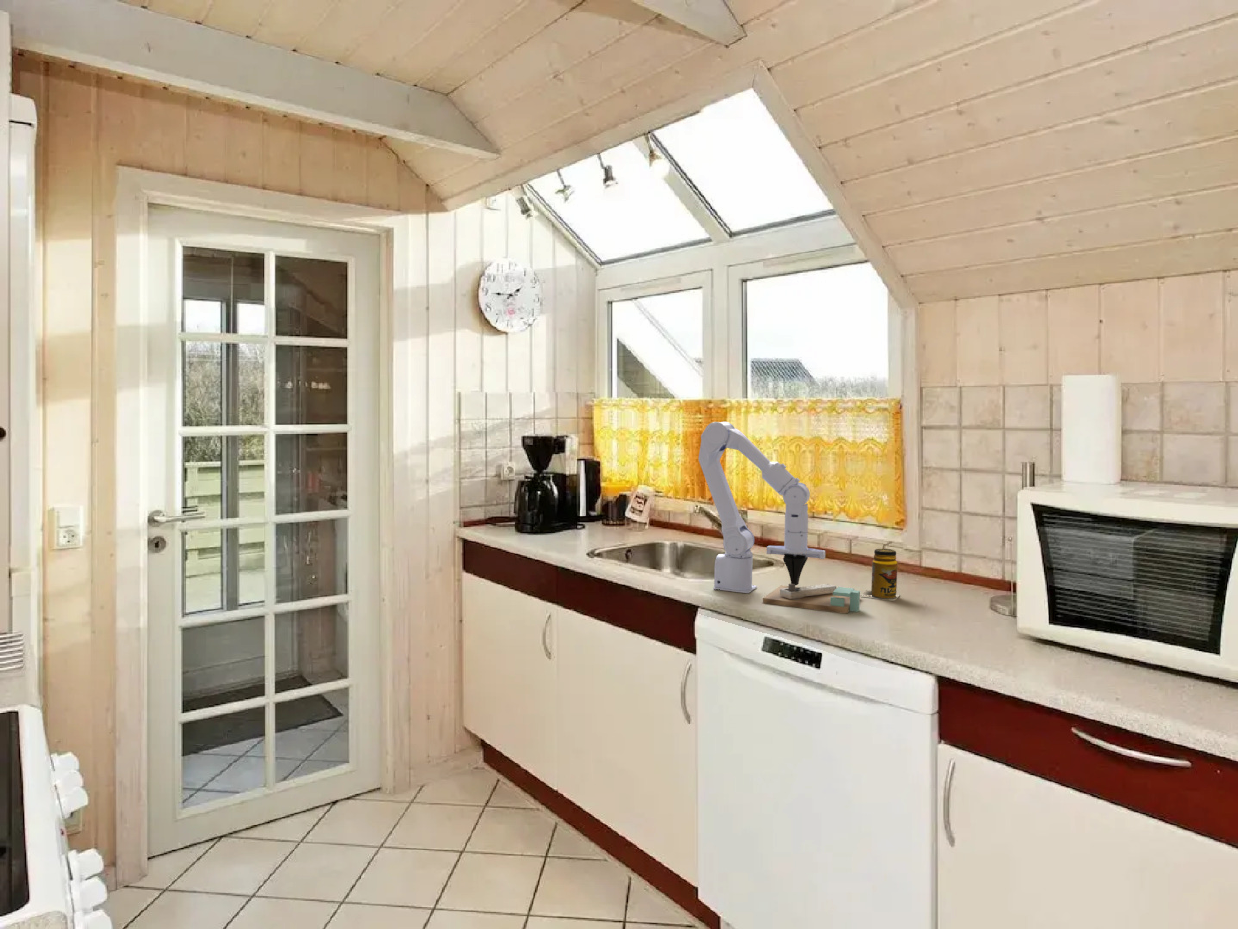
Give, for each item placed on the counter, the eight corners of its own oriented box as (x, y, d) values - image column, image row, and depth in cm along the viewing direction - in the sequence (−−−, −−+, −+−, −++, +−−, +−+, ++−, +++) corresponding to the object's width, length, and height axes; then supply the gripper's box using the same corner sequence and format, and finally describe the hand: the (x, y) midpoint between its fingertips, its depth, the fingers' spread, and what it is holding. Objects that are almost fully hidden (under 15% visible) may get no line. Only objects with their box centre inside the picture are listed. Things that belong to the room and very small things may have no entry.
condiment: (894, 601, 194) (896, 553, 193) (859, 597, 198) (861, 550, 197) (900, 595, 200) (901, 549, 199) (866, 591, 204) (867, 546, 203)
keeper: (830, 610, 184) (830, 591, 184) (835, 604, 189) (836, 586, 189) (856, 613, 181) (856, 594, 181) (860, 608, 187) (861, 589, 186)
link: (790, 599, 189) (790, 592, 188) (779, 595, 192) (779, 589, 192) (837, 592, 195) (837, 586, 195) (826, 589, 199) (826, 583, 199)
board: (762, 602, 190) (763, 584, 190) (780, 589, 205) (781, 572, 204) (846, 613, 181) (847, 594, 181) (859, 599, 196) (860, 581, 195)
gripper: (763, 531, 198) (762, 584, 199) (821, 535, 191) (819, 590, 192) (771, 527, 204) (770, 579, 205) (827, 531, 198) (826, 585, 199)
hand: (794, 584), depth 199 cm, fingers closed
